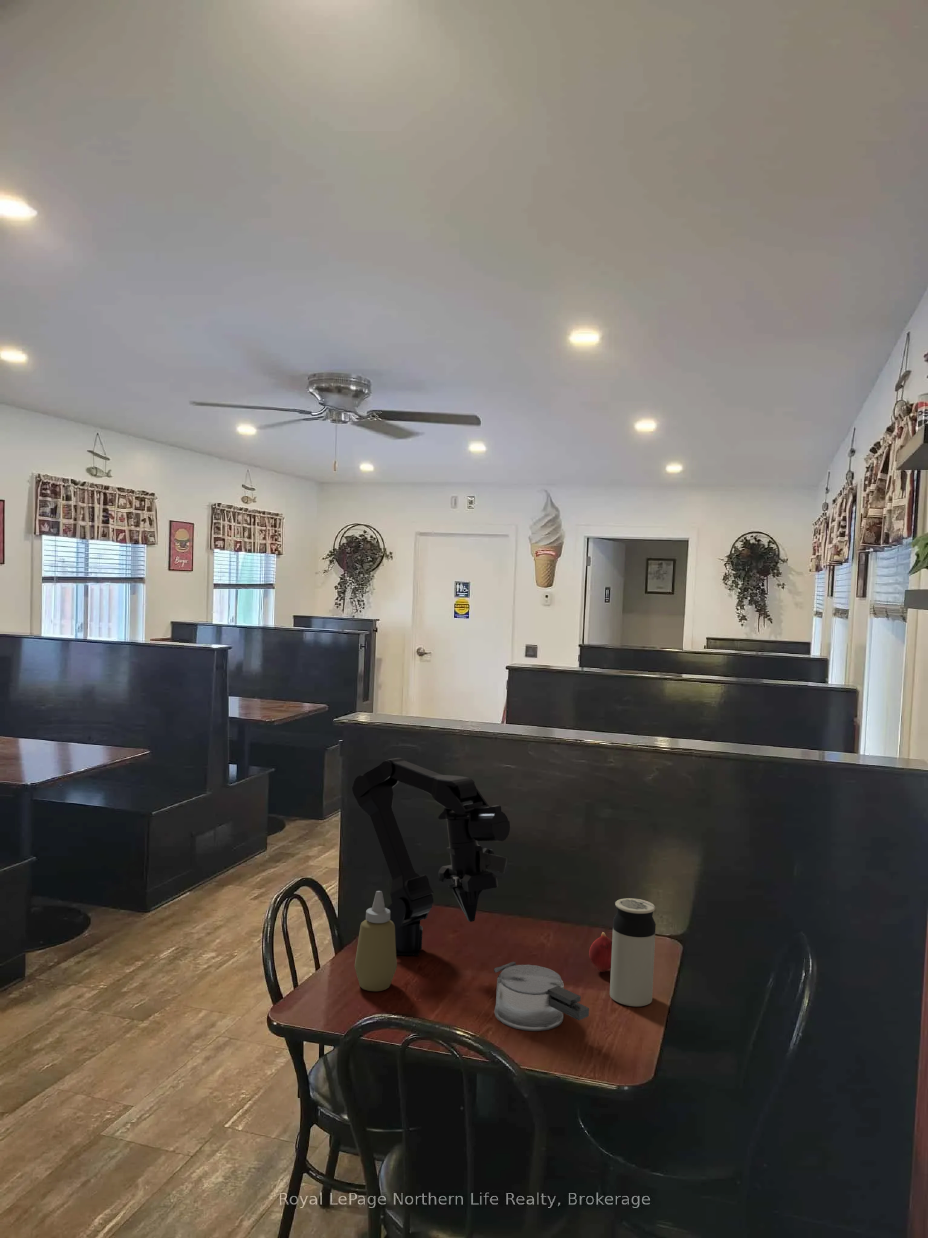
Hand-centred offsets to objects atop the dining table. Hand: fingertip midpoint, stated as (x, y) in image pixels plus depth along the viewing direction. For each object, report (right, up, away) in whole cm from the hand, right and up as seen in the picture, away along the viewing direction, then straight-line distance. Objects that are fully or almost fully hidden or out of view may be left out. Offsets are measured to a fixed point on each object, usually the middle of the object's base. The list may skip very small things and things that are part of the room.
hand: (471, 921), depth 169 cm
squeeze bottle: (-19, -10, -7) cm, 22 cm away
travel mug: (+30, -13, -7) cm, 34 cm away
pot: (+12, -11, -18) cm, 25 cm away
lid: (+12, -5, -17) cm, 21 cm away
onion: (+27, -12, +5) cm, 30 cm away
